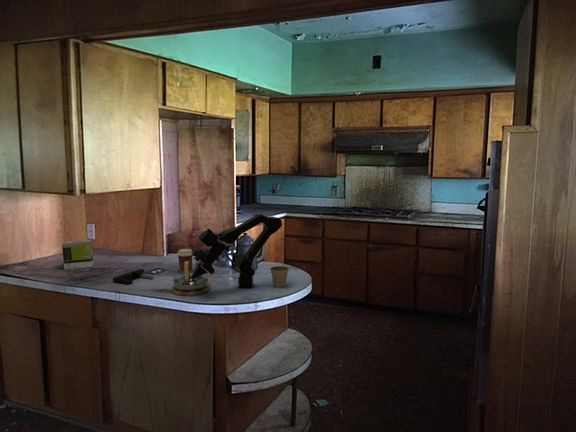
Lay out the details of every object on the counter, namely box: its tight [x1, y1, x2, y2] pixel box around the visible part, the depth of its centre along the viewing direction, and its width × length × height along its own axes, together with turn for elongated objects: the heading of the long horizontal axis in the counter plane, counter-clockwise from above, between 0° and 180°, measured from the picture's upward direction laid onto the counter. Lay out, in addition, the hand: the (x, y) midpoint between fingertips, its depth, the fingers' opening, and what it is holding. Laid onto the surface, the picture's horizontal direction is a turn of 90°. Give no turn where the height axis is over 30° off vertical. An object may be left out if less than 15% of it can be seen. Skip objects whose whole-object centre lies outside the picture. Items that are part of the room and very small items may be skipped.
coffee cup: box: [176, 248, 194, 274], centre depth 257 cm, size 9×9×12 cm
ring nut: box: [172, 261, 209, 292], centre depth 222 cm, size 16×16×14 cm
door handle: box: [112, 268, 155, 286], centre depth 243 cm, size 3×20×16 cm
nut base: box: [171, 283, 211, 297], centre depth 224 cm, size 18×18×2 cm
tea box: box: [61, 239, 95, 270], centre depth 268 cm, size 15×10×15 cm
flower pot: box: [269, 265, 290, 288], centre depth 230 cm, size 9×9×9 cm
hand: (191, 278), depth 217 cm, fingers closed
